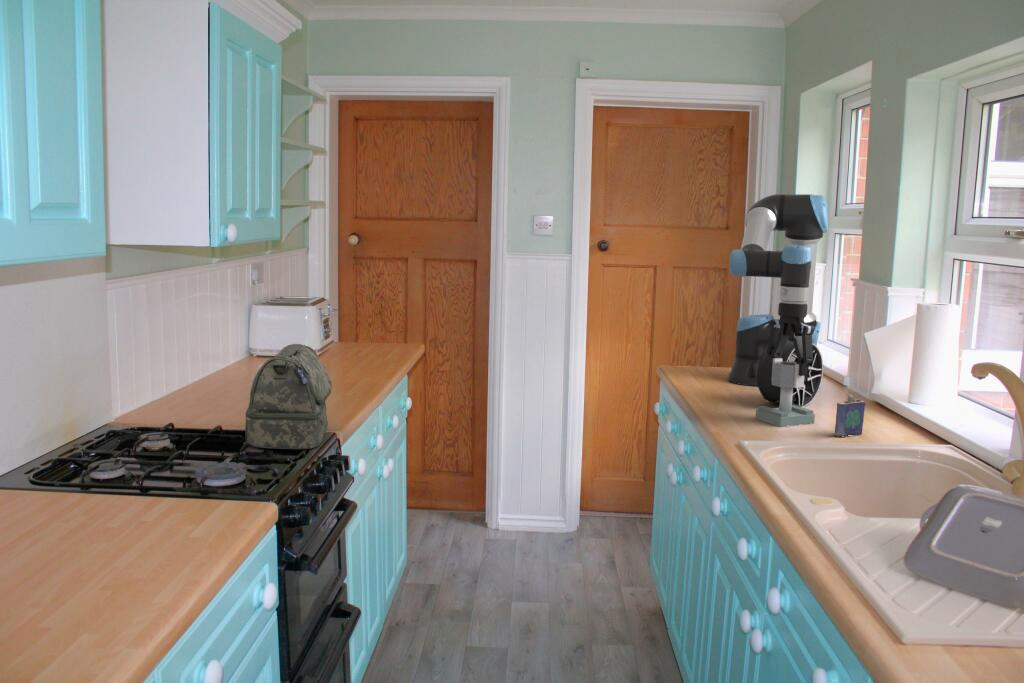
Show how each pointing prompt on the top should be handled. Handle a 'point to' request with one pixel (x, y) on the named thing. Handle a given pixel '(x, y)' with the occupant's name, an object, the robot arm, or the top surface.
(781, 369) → the block
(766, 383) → the wheel rim
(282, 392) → the lunch bag
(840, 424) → the flask
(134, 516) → the top surface
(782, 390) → the shaft block
